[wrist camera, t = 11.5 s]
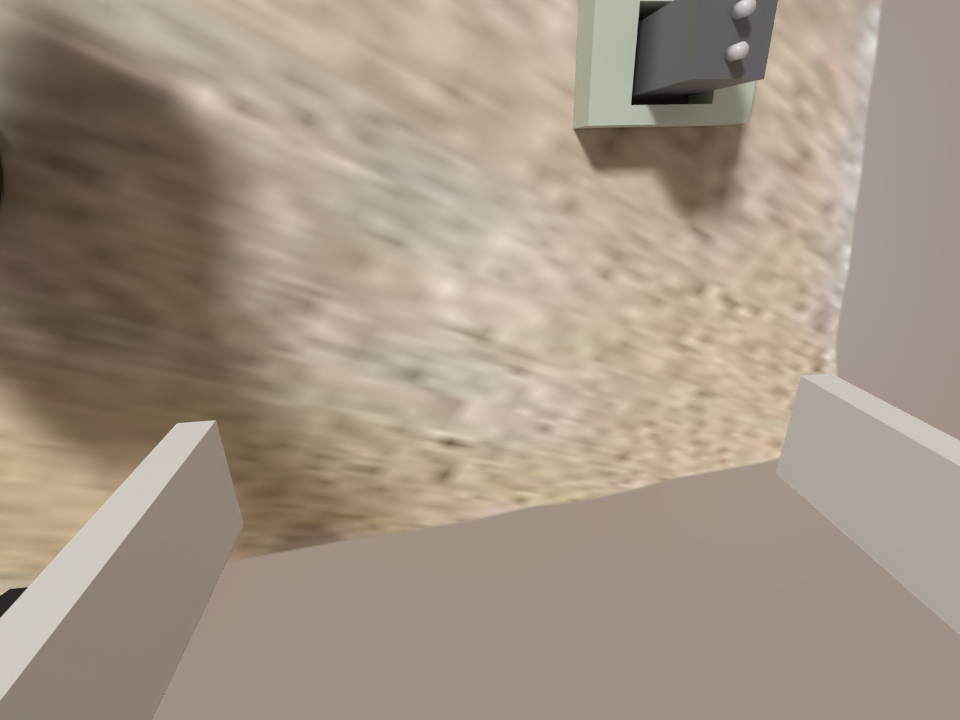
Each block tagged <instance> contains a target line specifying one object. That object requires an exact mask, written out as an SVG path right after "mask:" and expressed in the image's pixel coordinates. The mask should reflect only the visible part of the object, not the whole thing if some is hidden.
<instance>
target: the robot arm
mask: <svg viewBox="0 0 960 720" xmlns="http://www.w3.org/2000/svg"><path fill="white" fill-rule="evenodd" d="M1 190H2V172H1V164H0V197H1ZM776 474H777V475H778V476H779V477H781V478H782V479H783V480H784V481H785V482H786V483H787V484H789V485H790V486H791V487H792V488H793V489H794V490H795V491H797V492H798V493H799V494H800V495H801V496H802V497H803V498H805V499H806V500H807V501H808V502H809V503H810V504H811V505H812V506H814V507H815V508H816V509H817V510H818V511H819V512H820V513H822V514H823V515H824V516H825V517H826V518H827V519H828V520H829V521H831V522H832V523H833V524H834V525H835V526H836V527H838V528H839V529H840V530H841V531H842V532H843V533H844V534H845V535H847V536H848V537H849V538H850V539H851V540H852V541H853V542H855V543H856V544H857V545H858V546H859V547H860V548H861V549H862V550H864V551H865V552H866V553H867V554H868V555H869V556H870V557H872V558H873V559H874V560H875V561H876V562H877V563H879V564H880V565H881V566H882V567H883V568H884V569H885V570H887V571H888V572H889V573H890V574H891V575H892V576H893V577H894V578H895V579H897V580H898V581H899V582H900V583H901V584H902V585H903V586H905V587H906V588H907V589H908V590H909V591H910V592H911V593H913V594H914V595H915V596H916V597H917V598H918V599H919V600H920V601H922V602H923V603H924V604H925V605H926V606H927V607H928V608H930V609H931V610H932V611H933V612H934V613H935V614H936V615H938V616H939V617H940V618H941V619H942V620H943V621H944V622H946V623H947V624H948V625H949V626H950V627H951V628H952V629H954V630H955V631H956V632H957V633H958V634H959V635H960V441H959V440H957V439H955V438H953V437H951V436H949V435H948V434H946V433H944V432H942V431H940V430H938V429H936V428H934V427H932V426H930V425H928V424H927V423H925V422H923V421H921V420H919V419H917V418H915V417H913V416H911V415H909V414H907V413H905V412H904V411H902V410H900V409H898V408H896V407H894V406H892V405H890V404H888V403H886V402H884V401H882V400H880V399H878V398H876V397H875V396H873V395H871V394H869V393H867V392H865V391H863V390H861V389H859V388H857V387H856V386H854V385H852V384H849V383H848V382H846V381H844V380H842V379H840V378H838V377H836V376H834V375H833V374H820V375H807V376H801V378H800V382H799V386H798V390H797V394H796V398H795V402H794V405H793V409H792V413H791V417H790V421H789V425H788V429H787V433H786V437H785V441H784V444H783V448H782V452H781V456H780V460H779V464H778V468H777V472H776ZM243 526H244V523H243V519H242V516H241V512H240V508H239V504H238V501H237V497H236V493H235V489H234V486H233V482H232V478H231V474H230V471H229V467H228V463H227V459H226V456H225V452H224V448H223V444H222V441H221V437H220V433H219V430H218V426H217V422H216V420H212V421H199V422H186V423H177V424H176V425H175V426H174V427H173V428H172V429H171V430H170V432H169V433H168V434H167V435H166V436H165V437H164V438H163V439H162V440H161V441H160V443H159V444H158V445H157V446H156V447H155V448H154V449H153V450H152V451H151V453H150V454H149V455H148V456H147V457H146V458H145V459H144V460H143V461H142V462H141V464H140V465H139V466H138V467H137V468H136V469H135V470H134V471H133V472H132V473H131V475H130V476H129V477H128V478H127V479H126V480H125V481H124V482H123V483H122V484H121V486H120V487H119V488H118V489H117V490H116V491H115V492H114V493H113V494H112V495H111V497H110V498H109V499H108V500H107V501H106V502H105V503H104V504H103V505H102V506H101V508H100V509H99V510H98V511H97V512H96V513H95V514H94V515H93V516H92V518H91V519H90V520H89V521H88V522H87V523H86V524H85V525H84V526H83V527H82V529H81V530H80V531H79V532H78V533H77V534H76V535H75V536H74V537H73V538H72V540H71V541H70V542H69V543H68V544H67V545H66V546H65V547H64V548H63V549H62V551H61V552H60V553H59V554H58V555H57V556H56V557H55V558H54V559H53V560H52V562H51V563H50V564H49V565H48V566H47V567H46V568H45V569H44V570H43V571H42V573H41V574H40V575H39V576H38V577H37V578H36V579H35V580H34V581H33V583H32V584H31V585H30V586H29V587H26V588H16V589H10V590H8V591H7V592H5V593H4V594H3V595H1V596H0V720H152V718H153V716H154V714H155V712H156V710H157V708H158V706H159V704H160V702H161V700H162V697H163V695H164V693H165V691H166V689H167V687H168V685H169V683H170V680H171V678H172V676H173V674H174V672H175V670H176V668H177V666H178V664H179V661H180V659H181V657H182V655H183V653H184V651H185V649H186V647H187V644H188V642H189V640H190V638H191V636H192V634H193V632H194V630H195V628H196V625H197V623H198V621H199V619H200V617H201V615H202V613H203V611H204V609H205V607H206V604H207V602H208V600H209V598H210V596H211V594H212V592H213V590H214V587H215V585H216V583H217V581H218V579H219V577H220V574H221V572H222V570H223V568H224V566H225V564H226V562H227V560H228V558H229V556H230V554H231V552H232V549H233V547H234V545H235V543H236V541H237V539H238V537H239V535H240V533H241V530H242V528H243Z"/></svg>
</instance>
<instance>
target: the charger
mask: <svg viewBox="0 0 960 720" xmlns="http://www.w3.org/2000/svg"><path fill="white" fill-rule="evenodd" d="M777 2H778V0H674V1H672V2H670V3H669V4H667V5H666V6H664V7H662V8H661V9H659V10H657V11H656V12H654V13H653V14H651V15H649V16H648V17H646V18H645V19H643V20H641V21H640V22H638V30H637V41H636V53H635V64H634V76H633V88H632V99H671V98H683V97H687V96H691V95H696V94H700V93H704V92H709V91H713V90H717V89H722V88H726V87H730V86H735V85H739V84H743V83H748V82H752V81H756V80H761V79H764V75H765V70H766V64H767V58H768V53H769V47H770V41H771V36H772V30H773V24H774V19H775V13H776V7H777Z"/></svg>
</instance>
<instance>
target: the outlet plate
mask: <svg viewBox="0 0 960 720" xmlns="http://www.w3.org/2000/svg"><path fill="white" fill-rule="evenodd" d="M672 1H674V0H579V16H578V38H577V60H576V81H575V103H574V124H573V129H579V128H631V127H682V126H723V125H733V124H742V123H749V118H750V112H751V107H752V101H753V95H754V89H755V83H756V81H752V82H748V83H743V84H739V85H735V86H730V87H726V88H722V89H717V90H713V91H709V92H704V93H700V94H696V95H691V96H689V98H688V104H673V105H631V99H632V88H633V76H634V64H635V53H636V41H637V30H638V18H639V16H649V15H651V14H653V13H654V12H656V11H657V10H659V9H661V8H662V7H664V6H666V5H667V4H669V3H670V2H672Z"/></svg>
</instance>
